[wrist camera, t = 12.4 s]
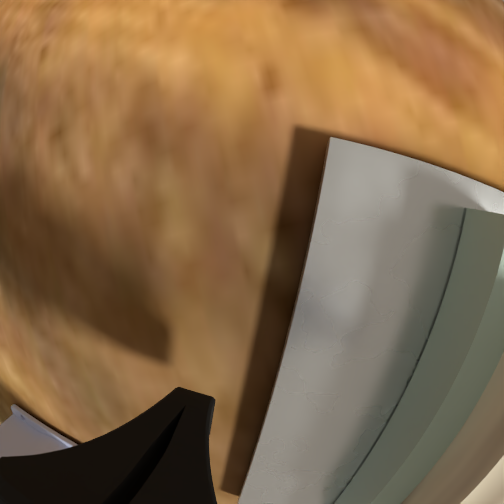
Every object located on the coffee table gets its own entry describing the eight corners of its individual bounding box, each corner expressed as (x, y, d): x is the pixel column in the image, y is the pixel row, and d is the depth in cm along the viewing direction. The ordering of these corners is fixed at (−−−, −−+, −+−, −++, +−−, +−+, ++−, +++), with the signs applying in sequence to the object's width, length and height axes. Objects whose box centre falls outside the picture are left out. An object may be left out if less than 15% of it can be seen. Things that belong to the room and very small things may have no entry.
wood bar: (366, 494, 11) (374, 569, 6) (480, 280, 8) (571, 338, 4) (428, 490, 11) (445, 555, 6) (541, 295, 8) (616, 343, 3)
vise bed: (237, 499, 14) (226, 545, 10) (327, 141, 9) (342, 117, 6) (426, 506, 12) (435, 544, 9) (571, 231, 8) (620, 245, 5)
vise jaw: (322, 517, 12) (322, 550, 9) (466, 208, 8) (510, 215, 6) (347, 517, 12) (348, 550, 9) (497, 219, 8) (542, 229, 5)
